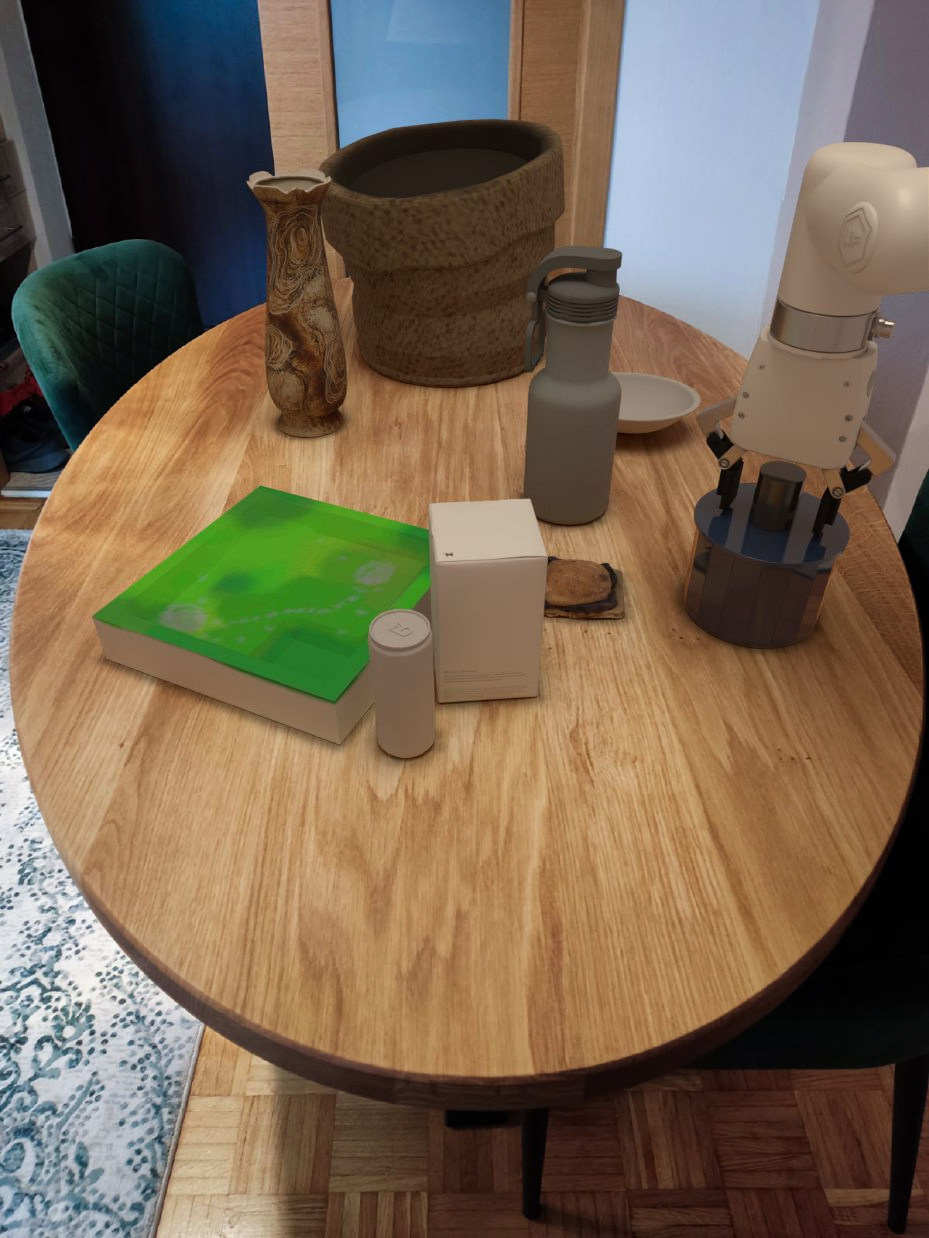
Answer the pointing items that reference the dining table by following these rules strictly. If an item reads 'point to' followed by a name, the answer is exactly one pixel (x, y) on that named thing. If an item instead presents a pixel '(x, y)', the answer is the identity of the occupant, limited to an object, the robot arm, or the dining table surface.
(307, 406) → the vase
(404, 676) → the beverage can
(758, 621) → the enamel pot
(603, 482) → the water bottle
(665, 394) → the dish
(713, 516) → the lid
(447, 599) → the white product box
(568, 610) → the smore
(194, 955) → the dining table surface
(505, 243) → the pot
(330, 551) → the flat green box
